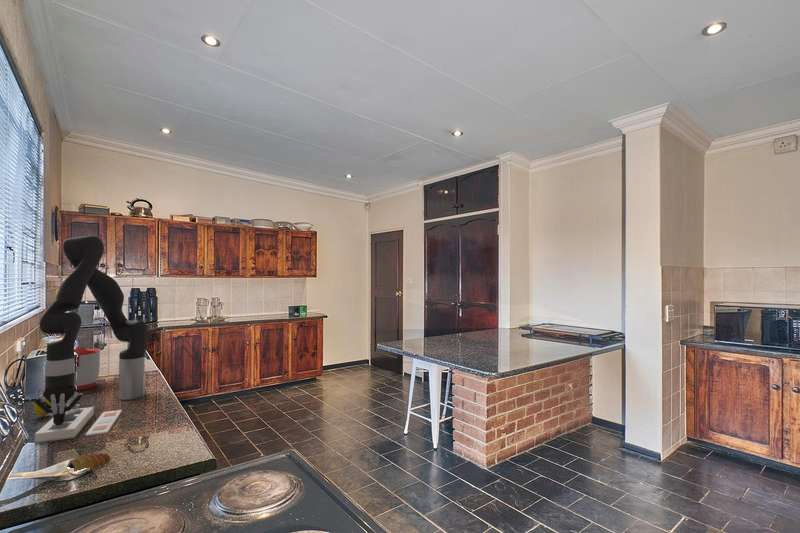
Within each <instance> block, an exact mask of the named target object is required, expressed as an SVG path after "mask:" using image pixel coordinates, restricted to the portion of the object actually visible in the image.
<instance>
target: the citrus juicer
mask: <svg viewBox="0 0 800 533" xmlns="http://www.w3.org/2000/svg"><path fill="white" fill-rule="evenodd" d="M74 352H76V353H77V354H78V357H77V361H76V364H77V366H76V372H77V380H76V386H77V390H76V391H85V389H86V390H87V389H91V388H93V387H94V386H96V384H97V381H98V377H99V374H100V362H101V360H100V359H101V358H100V357H101V349H99V348H85V347H84V346H82V345H78V346H77V347H74Z"/></svg>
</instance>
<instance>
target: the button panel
mask: <svg viewBox="0 0 800 533" xmlns="http://www.w3.org/2000/svg"><path fill="white" fill-rule="evenodd" d="M79 409H81V413H80V414H75V416H74V421H66V422H68V427H67V428H61V429H54V430H52V425H53V424H54V423H53V417H52V418H51V419H50V420H48V421H47V423H45V424H44V425H43V426H42V427H41V428H40V429H39V430H37V432H35V433H34V444H40V443H41V444H42V443H47V442H48V443H49V442H53V441H55V442H56V441H62V440H68V439H75V438H76V437H77V435H78V434H79V433H80V432H81V431H82V429H83V428H84V427H85V426H86V425H87V423H88V422H89V421H90V420H91V419H92V418H93V417H94V415H95V411H94V410H95V407H94V406H89V407H82V408H79ZM71 410H73V408H72V409H71Z"/></svg>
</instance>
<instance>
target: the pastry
mask: <svg viewBox="0 0 800 533" xmlns="http://www.w3.org/2000/svg"><path fill="white" fill-rule="evenodd" d="M110 461H111V457H110V455H109V454H108V453H104V452H102V453H92V454H91V453H90V454H83V455H82V456H77V457H75V458H74V459H70V460H69V461H68V463H67V466H66V468H67V467H70V468H74V471H77V470H81V469H84V468H89V467H90V470H92V469H95V468H97V467H99V466H102V465H104V464H106V463H107V464H108V463H109V462H110ZM107 464H106V465H107ZM104 466H105V465H104ZM102 467H103V466H102ZM95 470H96V469H95Z"/></svg>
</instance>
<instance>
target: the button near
mask: <svg viewBox="0 0 800 533" xmlns="http://www.w3.org/2000/svg"><path fill="white" fill-rule="evenodd" d="M67 427H68V422H63V424H62V425H56V424H53V425H52V430H54V429H61V428H67Z"/></svg>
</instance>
